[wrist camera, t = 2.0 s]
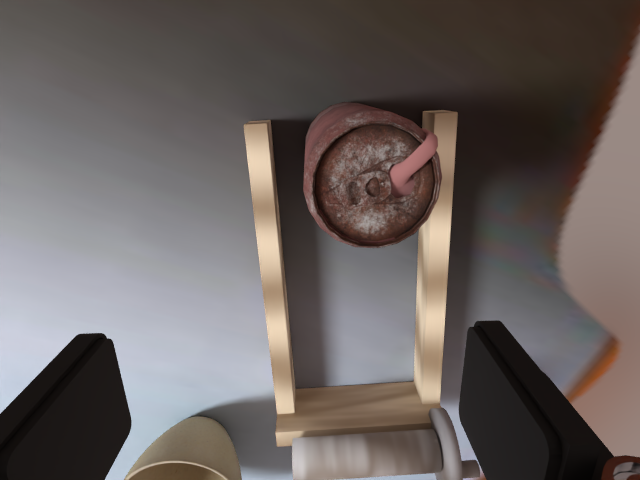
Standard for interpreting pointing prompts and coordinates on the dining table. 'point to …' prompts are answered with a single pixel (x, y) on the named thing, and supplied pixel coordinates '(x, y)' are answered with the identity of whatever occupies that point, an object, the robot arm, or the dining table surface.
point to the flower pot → (189, 454)
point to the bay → (370, 399)
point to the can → (370, 174)
